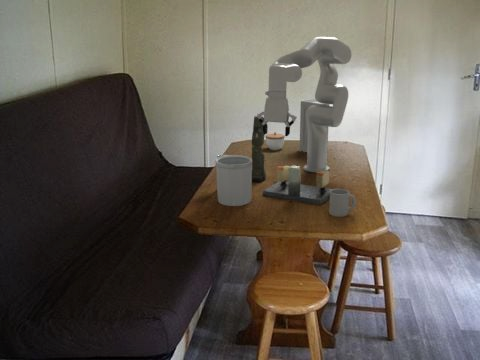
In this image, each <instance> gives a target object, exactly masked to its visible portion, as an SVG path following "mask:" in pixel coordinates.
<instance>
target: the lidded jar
mask: <svg viewBox="0 0 480 360" xmlns="http://www.w3.org/2000/svg"><path fill="white" fill-rule="evenodd" d="M264 138H265V144H266V146H267V147H268V148H269V150H271V151H279V150H281V149H282V148H283V146H284V143H285V138H286V136H285V134H282V133H277V132H276V131H275V132H273V133H267V134H265V136H264Z"/></svg>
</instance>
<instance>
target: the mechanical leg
mask: <svg viewBox="0 0 480 360" xmlns="http://www.w3.org/2000/svg"><path fill="white" fill-rule="evenodd" d="M262 119H263V120H264V116H262ZM252 126H253V127H252V129H253V130H252V132H251V133H252V136H251V158H252V183H261V184H262V183H263V182H264V181H265V180H267V179H266V178H267V172H266V170H265V153H264V152H262V150H263V149H262V148H263V147H262V146H263V145H264V143H265V136H266V134H265V135H264V132H263V125H262V123H261V122H260V121H259V119H258V117H257V115H255V116H254V117H253V124H252Z"/></svg>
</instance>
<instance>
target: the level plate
mask: <svg viewBox="0 0 480 360" xmlns="http://www.w3.org/2000/svg"><path fill="white" fill-rule="evenodd" d="M301 175H302V170H301V166H300V165H290V169H289V175H288V179H287V180H288V181H286V184H281V182H280V181H277V182H276V183H274V184H272V185H270V186H268V187H266V188H265V189H263V190H262V196H265V197H272V198H277V199H278V198H279V199H284V200H290V201H294V202H295V201H296V202H302V203H308V204H312V205H313V204H314V205H320V206H321V205H323V204H324V203H326V201H328V200H330V190H332V189H333V188H330V187H325V190H320V187H316V185H315V186H313V185H307V184H301V181H302V179H301V178H302V177H301Z"/></svg>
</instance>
